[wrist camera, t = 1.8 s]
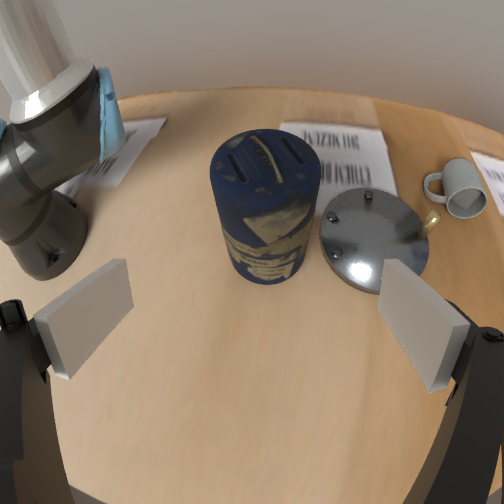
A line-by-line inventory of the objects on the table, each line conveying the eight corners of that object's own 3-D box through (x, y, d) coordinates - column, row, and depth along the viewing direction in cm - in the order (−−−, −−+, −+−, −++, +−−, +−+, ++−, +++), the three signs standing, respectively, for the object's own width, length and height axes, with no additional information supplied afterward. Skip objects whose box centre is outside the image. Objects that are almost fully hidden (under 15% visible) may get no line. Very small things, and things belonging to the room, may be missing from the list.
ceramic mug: (465, 187, 42) (482, 159, 35) (474, 223, 38) (495, 196, 31) (418, 173, 44) (432, 142, 37) (424, 210, 40) (443, 178, 33)
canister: (235, 294, 35) (206, 204, 19) (226, 229, 40) (202, 123, 24) (311, 281, 36) (341, 186, 20) (295, 218, 40) (306, 110, 24)
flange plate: (324, 297, 34) (335, 276, 29) (313, 193, 42) (319, 162, 36) (434, 291, 34) (458, 271, 28) (409, 196, 41) (423, 169, 35)
